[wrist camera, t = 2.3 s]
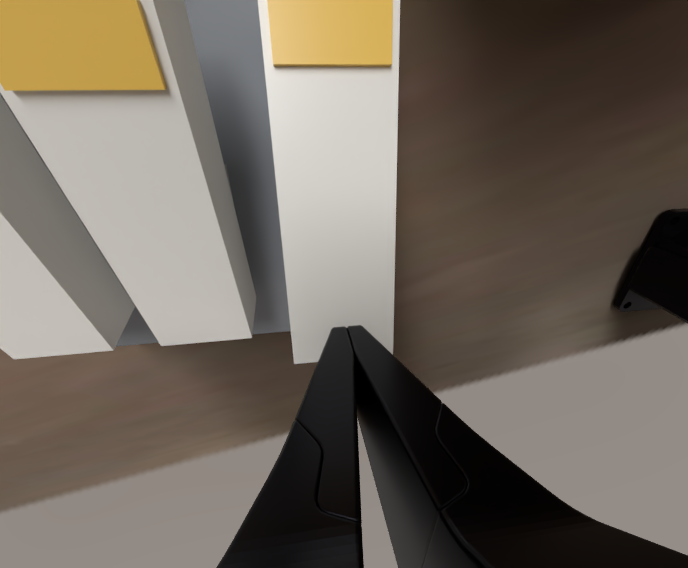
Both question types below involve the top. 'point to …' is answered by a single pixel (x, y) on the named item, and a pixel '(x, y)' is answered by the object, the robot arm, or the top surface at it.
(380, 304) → the block
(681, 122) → the top surface
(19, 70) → the rocker middle
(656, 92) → the top surface
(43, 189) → the block
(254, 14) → the console
